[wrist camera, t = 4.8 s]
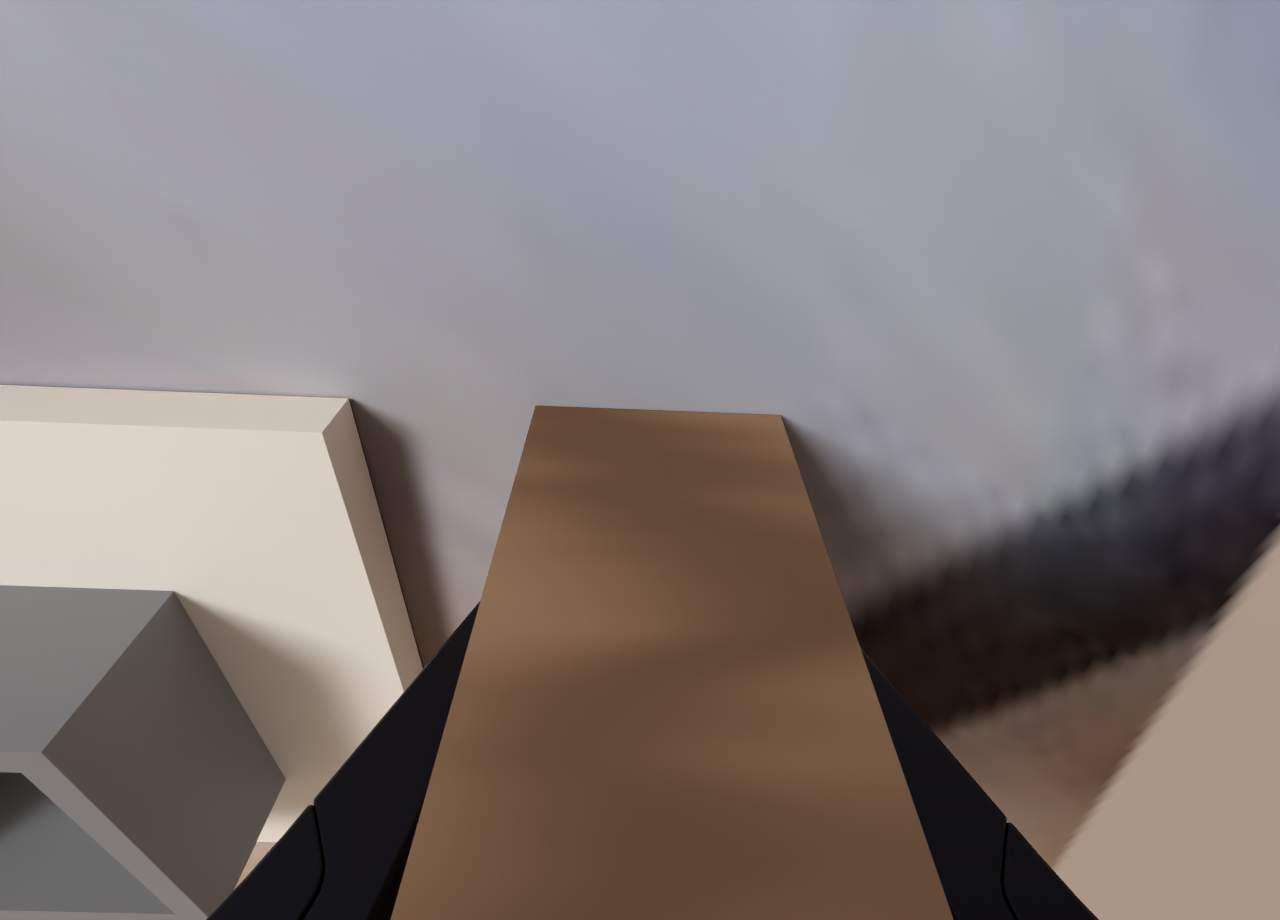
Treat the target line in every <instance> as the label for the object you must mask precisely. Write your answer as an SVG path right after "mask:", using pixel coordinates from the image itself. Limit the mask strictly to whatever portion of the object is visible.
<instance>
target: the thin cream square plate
mask: <svg viewBox="0 0 1280 920" xmlns="http://www.w3.org/2000/svg"><path fill="white" fill-rule="evenodd" d="M422 670H423V668H422V664H421V660H420V657H419V653H418V649H417V646H416V642H415V639H414V635H413V631H412V628H411V624H410V620H409V617H408V613H407V609H406V606H405V602H404V599H403V595H402V591H401V588H400V584H399V580H398V577H397V573H396V569H395V566H394V562H393V559H392V555H391V551H390V548H389V544H388V540H387V537H386V533H385V529H384V526H383V522H382V519H381V515H380V511H379V508H378V504H377V500H376V497H375V493H374V489H373V486H372V482H371V479H370V475H369V471H368V468H367V464H366V460H365V457H364V453H363V449H362V446H361V442H360V439H359V435H358V431H357V428H356V424H355V420H354V417H353V413H352V409H351V406H350V402H349V399H348V398H323V397H297V396H272V395H246V394H221V393H195V392H170V391H144V390H119V389H93V388H68V387H42V386H17V385H0V920H206V919H207V918H208V917H209V916H210V915H211V914H212V913H213V912H214V911H215V910H216V909H217V907H218V906H219V905H220V904H221V903H222V902H223V901H224V900H225V899H226V898H227V897H228V896H229V895H230V894H231V893H232V892H233V890H234V888H235V886H236V884H237V882H238V880H239V878H240V876H241V874H242V871H243V869H244V867H245V865H246V863H247V861H248V859H249V857H250V854H251V852H252V850H253V848H254V846H255V844H256V842H278V840H279V839H280V838H281V837H282V836H283V835H284V834H285V832H286V831H287V830H288V829H289V828H290V826H291V825H292V824H293V823H294V822H295V820H296V819H297V818H298V817H299V816H300V814H301V813H302V812H303V811H304V810H305V808H306V807H307V806H308V805H314V798H315V797H316V796H317V795H318V793H319V792H320V791H321V790H322V789H323V787H324V786H325V785H326V784H327V783H328V782H329V780H330V779H331V778H332V777H333V776H334V774H335V773H336V772H337V771H338V770H339V768H340V767H341V766H342V765H343V764H344V762H345V761H346V760H347V759H348V758H349V757H350V755H351V754H352V753H353V752H354V751H355V749H356V748H357V747H358V746H359V745H360V743H361V742H362V741H363V740H364V739H365V737H366V736H367V735H368V734H369V733H370V732H371V730H372V729H373V728H374V727H375V726H376V724H377V723H378V722H379V721H380V720H381V718H382V717H383V716H384V715H385V714H386V712H387V711H388V710H389V709H390V708H391V707H392V705H393V704H394V703H395V702H396V701H397V699H398V698H399V697H400V696H401V695H402V693H403V692H404V691H405V690H406V689H407V688H408V686H409V685H410V684H411V683H412V682H413V680H414V679H415V678H416V677H417V676H418V674H419V673H420V672H421V671H422Z"/></svg>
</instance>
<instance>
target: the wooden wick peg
mask: <svg viewBox="0 0 1280 920" xmlns="http://www.w3.org/2000/svg"><path fill="white" fill-rule="evenodd" d="M391 920H953V917H952V914H951V911H950V908H949V905H948V902H947V899H946V896H945V893H944V890H943V888H942V885H941V882H940V879H939V876H938V873H937V870H936V867H935V864H934V861H933V858H932V855H931V853H930V850H929V847H928V844H927V841H926V838H925V835H924V832H923V829H922V826H921V823H920V820H919V818H918V815H917V812H916V809H915V806H914V803H913V800H912V797H911V794H910V791H909V788H908V785H907V783H906V780H905V777H904V774H903V771H902V768H901V765H900V762H899V759H898V756H897V753H896V750H895V748H894V745H893V742H892V739H891V736H890V733H889V730H888V727H887V724H886V721H885V718H884V715H883V713H882V710H881V707H880V704H879V701H878V698H877V695H876V692H875V689H874V686H873V683H872V680H871V678H870V675H869V672H868V669H867V666H866V663H865V660H864V657H863V654H862V651H861V648H860V645H859V643H858V640H857V637H856V634H855V631H854V628H853V625H852V622H851V619H850V616H849V613H848V610H847V608H846V605H845V602H844V599H843V596H842V593H841V590H840V587H839V584H838V581H837V578H836V575H835V573H834V570H833V567H832V564H831V561H830V558H829V555H828V552H827V549H826V546H825V543H824V540H823V538H822V535H821V532H820V529H819V526H818V523H817V520H816V517H815V514H814V511H813V508H812V506H811V503H810V500H809V497H808V494H807V491H806V488H805V485H804V482H803V479H802V476H801V473H800V471H799V468H798V465H797V462H796V459H795V456H794V453H793V450H792V447H791V444H790V441H789V438H788V436H787V433H786V430H785V427H784V424H783V421H782V418H781V415H761V414H735V413H710V412H684V411H658V410H633V409H607V408H581V407H555V406H535V410H534V413H533V417H532V420H531V424H530V427H529V431H528V435H527V438H526V442H525V445H524V449H523V452H522V456H521V459H520V463H519V466H518V470H517V474H516V477H515V481H514V484H513V488H512V491H511V495H510V498H509V502H508V505H507V509H506V513H505V516H504V520H503V523H502V527H501V530H500V534H499V537H498V541H497V544H496V548H495V551H494V555H493V559H492V562H491V566H490V569H489V573H488V576H487V580H486V583H485V587H484V590H483V594H482V598H481V601H480V605H479V608H478V612H477V615H476V619H475V622H474V626H473V629H472V633H471V636H470V640H469V644H468V647H467V651H466V654H465V658H464V661H463V665H462V668H461V672H460V675H459V679H458V683H457V686H456V690H455V693H454V697H453V700H452V704H451V707H450V711H449V714H448V718H447V722H446V725H445V729H444V732H443V736H442V739H441V743H440V746H439V750H438V753H437V757H436V760H435V764H434V768H433V771H432V775H431V778H430V782H429V785H428V789H427V792H426V796H425V799H424V803H423V807H422V810H421V814H420V817H419V821H418V824H417V828H416V831H415V835H414V838H413V842H412V846H411V849H410V853H409V856H408V860H407V863H406V867H405V870H404V874H403V877H402V881H401V884H400V888H399V892H398V895H397V899H396V902H395V906H394V909H393V913H392V916H391Z"/></svg>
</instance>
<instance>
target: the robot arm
mask: <svg viewBox="0 0 1280 920" xmlns="http://www.w3.org/2000/svg"><path fill="white" fill-rule="evenodd" d="M479 605H480V602H479V603H478V604H477V605H476V607H475V608H474V609H473V610H472V611H471V613H470V614H469V615H468V616H467V617H466V618H465V620H464V621H463V622H462V623H461V624H460V626H459V627H458V628H457V629H456V630H455V632H454V633H453V634H452V635H451V636H450V638H449V639H448V640H447V641H446V642H445V643H444V645H443V646H442V647H441V648H440V649H439V651H438V652H437V653H436V654H435V655H434V657H433V658H432V659H431V660H430V661H429V663H428V664H427V665H426V666H425V667H424V668H423V670H422V671H421V672H420V673H419V674H418V676H417V677H416V678H415V679H414V680H413V682H412V683H411V684H410V685H409V686H408V688H407V689H406V690H405V691H404V692H403V693H402V695H401V696H400V697H399V698H398V699H397V701H396V702H395V703H394V704H393V705H392V707H391V708H390V709H389V710H388V711H387V712H386V714H385V715H384V716H383V717H382V718H381V720H380V721H379V722H378V723H377V724H376V726H375V727H374V728H373V729H372V730H371V732H370V733H369V734H368V735H367V736H366V737H365V739H364V740H363V741H362V742H361V743H360V745H359V746H358V747H357V748H356V749H355V751H354V752H353V753H352V754H351V755H350V757H349V758H348V759H347V760H346V761H345V762H344V764H343V765H342V766H341V767H340V768H339V770H338V771H337V772H336V773H335V774H334V776H333V777H332V778H331V779H330V780H329V782H328V783H327V784H326V785H325V786H324V787H323V789H322V790H321V791H320V792H319V793H318V795H317V796H316V797H315V798H314V805H308V806H307V807H306V808H305V810H304V811H303V812H302V813H301V814H300V816H299V817H298V818H297V819H296V820H295V822H294V823H293V824H292V825H291V826H290V828H289V829H288V830H287V831H286V832H285V834H284V835H283V836H282V837H281V838H280V839H279V840H278V842H277V843H276V844H275V845H274V846H273V847H272V848H271V850H270V851H269V852H268V853H267V854H266V855H265V856H264V858H263V859H262V860H261V861H260V862H259V863H258V864H257V866H256V867H255V868H254V869H253V870H252V871H251V872H250V874H249V875H248V876H247V877H246V878H245V879H244V880H243V881H242V882H241V883H240V884H239V885H238V887H237V888H236V889H235V890H234V891H233V892H232V893H231V894H230V895H229V896H228V897H227V898H226V899H225V900H224V901H223V902H222V903H221V904H220V905H219V906H218V907H217V909H216V910H215V911H214V912H213V913H212V914H211V915H210V916H209V917H208V918H207V919H206V920H391V916H392V913H393V909H394V906H395V902H396V899H397V895H398V892H399V888H400V884H401V881H402V877H403V874H404V870H405V867H406V863H407V860H408V856H409V853H410V849H411V846H412V842H413V838H414V835H415V831H416V828H417V824H418V821H419V817H420V814H421V810H422V807H423V803H424V799H425V796H426V792H427V789H428V785H429V782H430V778H431V775H432V771H433V768H434V764H435V760H436V757H437V753H438V750H439V746H440V743H441V739H442V736H443V732H444V729H445V725H446V722H447V718H448V714H449V711H450V707H451V704H452V700H453V697H454V693H455V690H456V686H457V683H458V679H459V675H460V672H461V668H462V665H463V661H464V658H465V654H466V651H467V647H468V644H469V640H470V636H471V633H472V629H473V626H474V622H475V619H476V615H477V612H478V608H479ZM861 651H862V654H863V657H864V660H865V663H866V666H867V669H868V672H869V675H870V678H871V680H872V683H873V686H874V689H875V692H876V695H877V698H878V701H879V704H880V707H881V710H882V713H883V715H884V718H885V721H886V724H887V727H888V730H889V733H890V736H891V739H892V742H893V745H894V748H895V750H896V753H897V756H898V759H899V762H900V765H901V768H902V771H903V774H904V777H905V780H906V783H907V785H908V788H909V791H910V794H911V797H912V800H913V803H914V806H915V809H916V812H917V815H918V818H919V820H920V823H921V826H922V829H923V832H924V835H925V838H926V841H927V844H928V847H929V850H930V853H931V855H932V858H933V861H934V864H935V867H936V870H937V873H938V876H939V879H940V882H941V885H942V888H943V890H944V893H945V896H946V899H947V902H948V905H949V908H950V911H951V914H952V917H953V920H1098V918H1097V917H1096V916H1095V915H1094V914H1093V913H1092V912H1091V911H1090V910H1089V909H1088V908H1087V907H1086V906H1085V905H1084V904H1083V903H1082V902H1081V901H1080V900H1079V899H1078V898H1077V896H1075V894H1074V893H1073V892H1072V891H1071V890H1070V889H1069V888H1068V887H1067V885H1066V884H1065V883H1064V882H1063V881H1062V880H1061V879H1060V878H1059V876H1058V875H1057V874H1056V873H1055V872H1054V871H1053V870H1052V869H1051V867H1050V866H1049V865H1048V864H1047V863H1046V862H1045V861H1044V860H1043V858H1042V857H1041V856H1040V855H1039V854H1038V853H1037V852H1036V851H1035V849H1034V848H1033V847H1032V846H1031V845H1030V844H1029V842H1028V841H1027V840H1026V839H1025V838H1024V837H1023V835H1022V834H1021V833H1020V832H1019V831H1018V830H1017V829H1016V827H1015V826H1014V825H1013V824H1012V823H1007V818H1006V816H1005V815H1004V814H1003V813H1002V811H1001V810H1000V809H999V808H998V807H997V806H996V804H995V803H994V802H993V801H992V800H991V799H990V798H989V796H988V795H987V794H986V793H985V792H984V791H983V789H982V788H981V787H980V786H979V785H978V784H977V782H976V781H975V780H974V779H973V778H972V777H971V775H970V774H969V773H968V772H967V771H966V770H965V768H964V767H963V766H962V765H961V764H960V763H959V761H958V760H957V759H956V758H955V757H954V756H953V755H952V753H951V752H950V751H949V750H948V749H947V748H946V746H945V745H944V744H943V743H942V742H941V741H940V739H939V738H938V737H937V736H936V735H935V734H934V732H933V731H932V730H931V729H930V728H929V727H928V725H927V724H926V723H925V722H924V721H923V720H922V719H921V717H920V716H919V715H918V714H917V713H916V712H915V710H914V709H913V708H912V707H911V706H910V705H909V703H908V702H907V701H906V700H905V699H904V698H903V696H902V695H901V694H900V693H899V692H898V691H897V689H896V688H895V687H894V686H893V685H892V684H891V682H890V681H889V680H888V679H887V678H886V677H885V676H884V674H883V673H882V672H881V671H880V670H879V669H878V667H877V666H876V665H875V664H874V663H873V662H872V660H871V659H870V658H869V657H868V656H867V655H866V653H865V652H864V651H863V650H862V649H861Z"/></svg>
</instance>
